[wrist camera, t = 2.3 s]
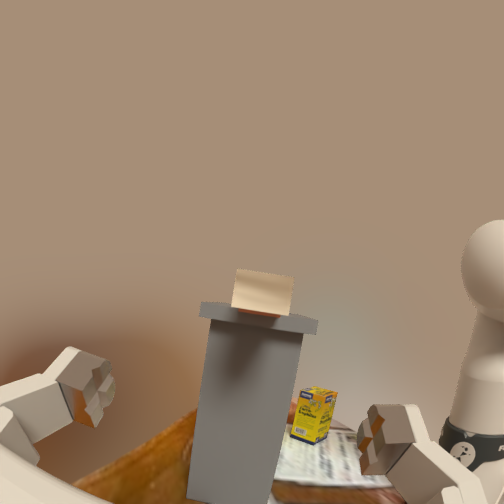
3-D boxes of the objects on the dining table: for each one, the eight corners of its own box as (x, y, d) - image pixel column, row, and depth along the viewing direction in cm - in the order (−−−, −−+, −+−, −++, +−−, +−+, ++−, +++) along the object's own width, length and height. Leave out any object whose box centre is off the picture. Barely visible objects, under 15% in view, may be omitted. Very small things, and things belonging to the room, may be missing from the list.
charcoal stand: (273, 520, 27) (318, 320, 31) (174, 504, 28) (201, 301, 32) (270, 459, 45) (298, 314, 49) (200, 448, 45) (222, 302, 49)
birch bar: (287, 320, 21) (294, 277, 22) (230, 310, 22) (237, 268, 22) (273, 311, 47) (276, 291, 47) (247, 306, 47) (250, 287, 48)
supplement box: (314, 446, 52) (325, 396, 54) (289, 437, 56) (299, 389, 58) (327, 438, 56) (338, 391, 58) (303, 430, 60) (313, 385, 62)
